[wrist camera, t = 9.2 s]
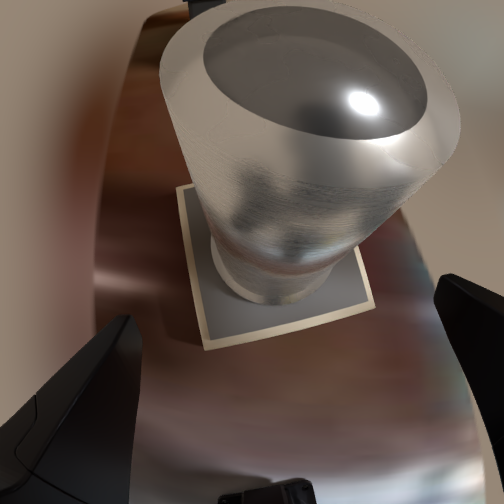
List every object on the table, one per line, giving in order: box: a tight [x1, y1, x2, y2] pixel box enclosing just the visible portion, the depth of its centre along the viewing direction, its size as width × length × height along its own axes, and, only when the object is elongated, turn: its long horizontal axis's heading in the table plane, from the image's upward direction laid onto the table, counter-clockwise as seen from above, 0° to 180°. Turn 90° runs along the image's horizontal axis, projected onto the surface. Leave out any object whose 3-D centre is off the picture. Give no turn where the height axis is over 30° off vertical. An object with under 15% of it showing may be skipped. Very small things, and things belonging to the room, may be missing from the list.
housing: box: [159, 0, 461, 307], centre depth 10 cm, size 7×7×12 cm
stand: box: [176, 184, 375, 351], centre depth 18 cm, size 10×10×3 cm
